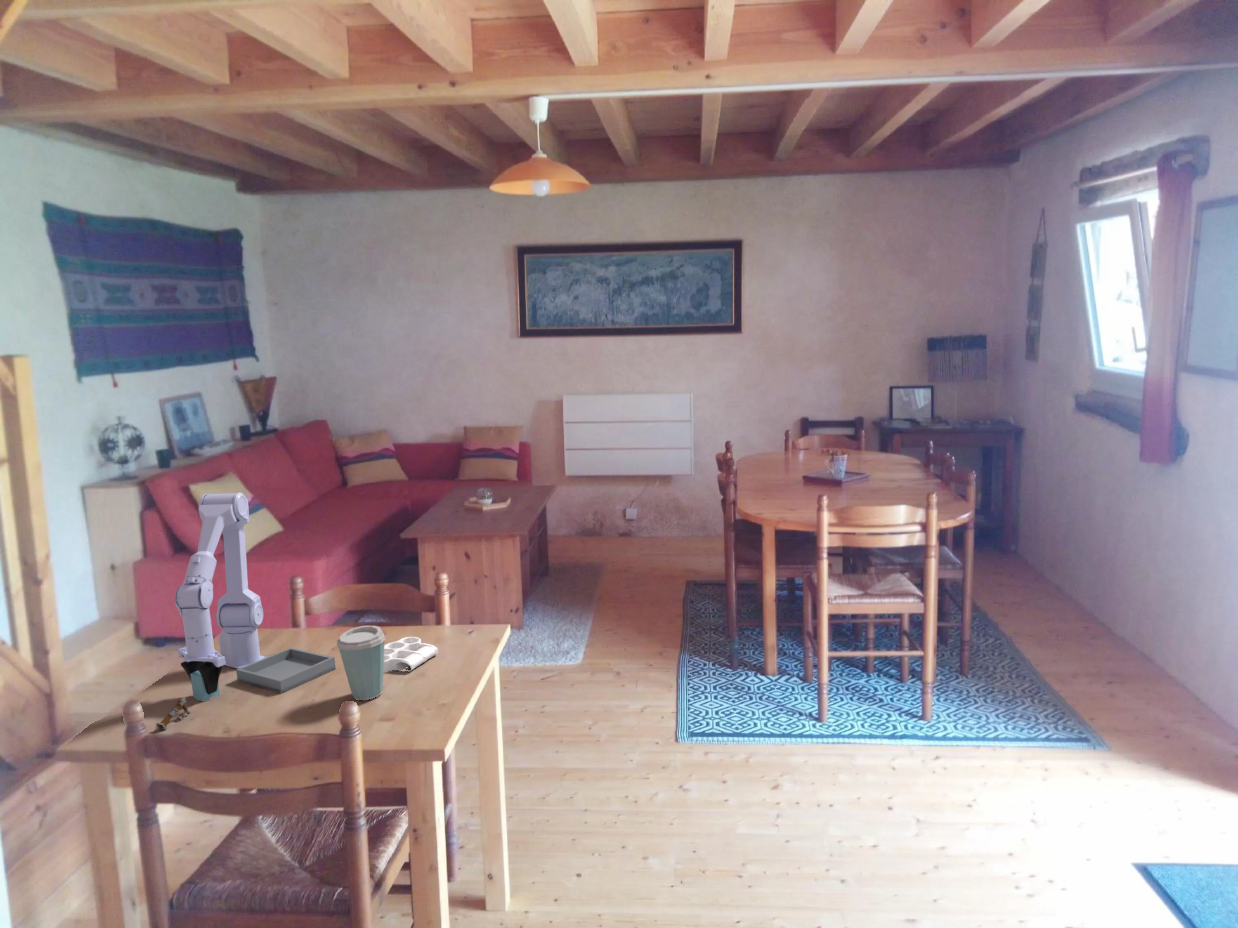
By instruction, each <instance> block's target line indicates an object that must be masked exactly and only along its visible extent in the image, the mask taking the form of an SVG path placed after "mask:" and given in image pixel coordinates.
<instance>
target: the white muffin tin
mask: <svg viewBox="0 0 1238 928" xmlns="http://www.w3.org/2000/svg"><path fill="white" fill-rule="evenodd" d="M437 654H439V649H438V647H436V646H435V645H433V644H429V643H425V642H422V639H421V638H420V637H417V636H406V637H402V638H400V639H399V640H395V641H393V642H388V643H386V644H384V668H383V674H385V673H384V672H387V671H390V672H393V671H392V670H395V671H396V670H399V671H398V672H401V670H403V669H406V667H409V666H410V667H409V668H411V670H409V671H408V672H407V673H409V672H411V671H412V670H415V668H417V667H418V666H420V665H421V664H424V663H426V661H428V660H429V659H431V658H433V657H434V656H436V655H437ZM387 673H388V672H387Z"/></svg>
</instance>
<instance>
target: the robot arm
mask: <svg viewBox="0 0 1238 928" xmlns="http://www.w3.org/2000/svg"><path fill="white" fill-rule="evenodd" d="M249 509H250V508H249V500H248V498H247V497H246V496H245V494H244V493H242V492H235V493H204V494H202V495H201V497H200V499H199V501H198V514H199V518H200V520H201V529H200V535H199V540H198V546H197V552H196V553H193V554H192V555H191V556H190V558H189V561H188V565H187V569H186V573H185V575H184V580H183V583H182V584H181V585H180V586H178V588H177V589H176V590H175V594H174V604H175V607H176V609H177V610H178V613H179V616H180V618H182V623H183V624H182V625H183V631H184V639H185V646H184V647H181V648H179V649H177V651H178V657H179V658H180V659H181V658H183V660H182V662H181V663H180V667H182V668H183V670H184V671H185V673H186V674H187V676H188V678H189V680H190V681H191V675H190V674H191V673H193V672H196V671H199V672H200V674H201V676H202V678H203V681H204V685H205V689H206V692H207V694H211V693H214V692H216V691H217V686H218V685H219V678H220V674H221V672H222V669H223V667H224V666H225V665H226V667H229V668H233V669H236V670H237V669H239V668H242V667H244V666H246V665H249V664H251V663H254V662H256V661H259V660H261V659H264V658H266V657H267V656H264V655H261V651H260V650H261V649H260V641H259V632H258V627H260V626H261V624H262V622H263V619H264V608H263V606H262V600H261V597H260V595H258V594H257V593H255V592H254V591H252V590H250V589H249V581H248V564H247V560H248V559H247V546H246V544H247V542H246V532H245V531H246V529H245V525H247V524H249V523H250V510H249ZM222 534H223V537H222V538H223V549H224V550H223V554H224V566H225V569H224V570H225V585H226V586H225V587H226V592H225V594H223V595H222V596H221V597H220V598H219V599H218V600H217V609H216V610H217V611H216V616H215V619H216V623H217V625H218V626H219V628H221V629H222V630H221V632H220V635H219V637H218V638H219V640H218V641H219V649H220V653H219V651H217V649H215V645H214V637H213V635H214V634H213V629H212V628H213V627H212V618H211V612H210V606H211V605H212V603H213V599H214V590H213V589H214V584H213V577H214V574H215V570H216V567H217V563H218V561H217V559H216V558H215V556H214V554H215V553H216V552H215V551H216V549H217V546H218V543H219V541H220V538H221V536H222Z"/></svg>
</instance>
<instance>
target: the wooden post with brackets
mask: <svg viewBox="0 0 1238 928" xmlns="http://www.w3.org/2000/svg"><path fill="white" fill-rule="evenodd" d="M186 700H187V699H186V697H183V698H182V697H181V698H179V699H178V701H177V702H176V705H175V706H174V707H173V708H171V710H169V711H170V712H169V713H168V714H167V716H166V717H165V718H164V719H163V720H162V721H160V722H156V724H155V725H156V726H157V728H158V730H163V731H166V730H167V726H168V724H169V722H170V721H171V720H172V719H173V718H174V717H175V716H176V715H177V713H178V712H179V710H183V712H182V713H179V714H178V716H177V717H176V722H177V721H178V722H181V721H180V720H183V719H185V718H186V716H185V715H190V714H191V711H190V709H189V707H187V706H186V704H185V703H186V702H187V701H186Z"/></svg>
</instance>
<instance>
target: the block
mask: <svg viewBox="0 0 1238 928" xmlns="http://www.w3.org/2000/svg"><path fill="white" fill-rule="evenodd" d="M190 675H191V680H190V682H191V689H192V696H193V697H194V698H196V699H195V700H198V699H199V700H198V701H201V700H203V701H202V702H206V701H205V700H207V701H208V699H209V700H211V699H212V698H211V697H214V696H216V695H218V696H220V695H219V694H221V693H220V687H219V685H220V684H218V686H217V691H216V692H214V693H211V694H207V692H206V689H205V685H204V681H203V678H202V676H201V674H200V672H199V671H196V672H193V673H191V674H190ZM216 697H217V696H216ZM194 698H193V699H194ZM210 698H211V699H210ZM214 698H215V697H214Z"/></svg>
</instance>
